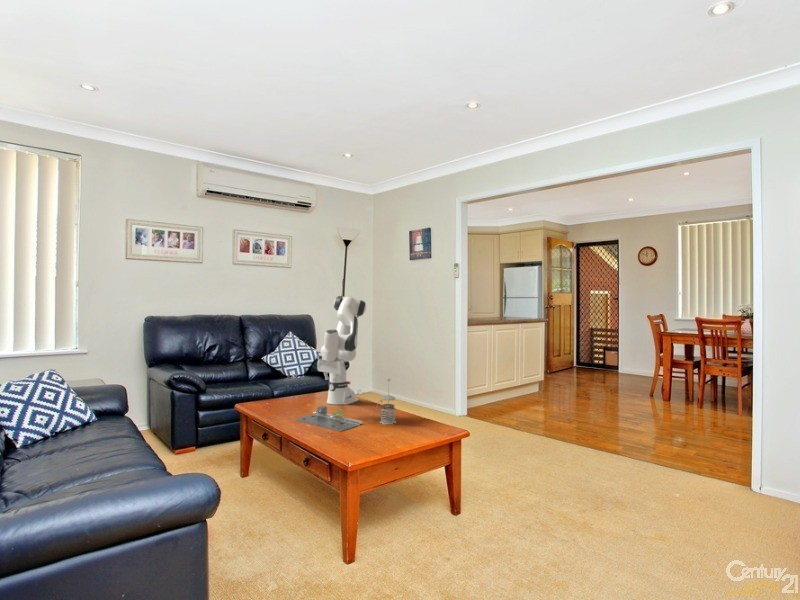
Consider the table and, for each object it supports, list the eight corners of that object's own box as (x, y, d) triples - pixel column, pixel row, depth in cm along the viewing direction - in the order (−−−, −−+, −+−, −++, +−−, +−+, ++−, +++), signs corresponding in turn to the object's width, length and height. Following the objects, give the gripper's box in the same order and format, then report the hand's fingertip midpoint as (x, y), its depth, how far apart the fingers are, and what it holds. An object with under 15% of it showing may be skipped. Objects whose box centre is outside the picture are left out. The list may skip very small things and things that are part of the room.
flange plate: (313, 415, 275) (313, 414, 275) (358, 425, 254) (358, 424, 254) (295, 419, 264) (295, 418, 264) (340, 431, 242) (340, 430, 242)
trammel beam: (321, 413, 279) (321, 405, 279) (363, 423, 258) (363, 414, 258) (309, 416, 271) (309, 408, 271) (352, 427, 251) (352, 418, 251)
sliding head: (338, 414, 270) (339, 409, 270) (343, 416, 267) (343, 410, 267) (327, 418, 262) (327, 411, 262) (332, 419, 260) (332, 413, 260)
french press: (394, 425, 256) (395, 380, 256) (374, 423, 258) (375, 379, 258) (398, 420, 266) (399, 377, 266) (378, 419, 268) (379, 376, 268)
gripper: (347, 358, 270) (347, 381, 270) (323, 355, 282) (323, 377, 282) (340, 359, 265) (339, 383, 265) (315, 356, 277) (315, 379, 277)
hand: (330, 380), depth 274 cm, fingers open, 5 cm apart
